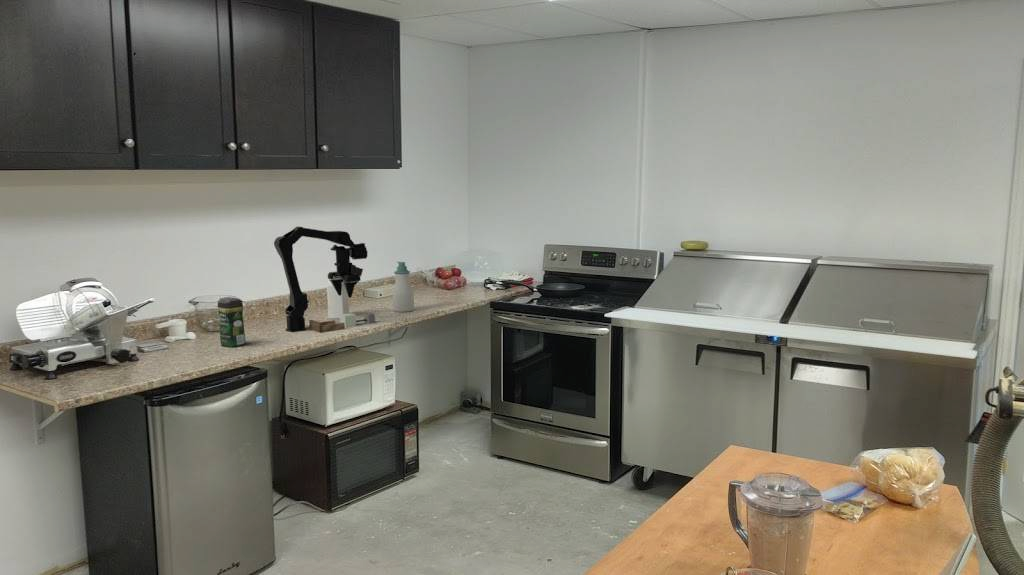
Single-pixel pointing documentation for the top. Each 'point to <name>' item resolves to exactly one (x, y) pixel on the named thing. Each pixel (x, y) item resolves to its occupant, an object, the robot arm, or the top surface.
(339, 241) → the robot arm
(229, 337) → the coffee jar
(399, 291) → the soap bottle
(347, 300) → the milk carton
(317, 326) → the walnut lane
